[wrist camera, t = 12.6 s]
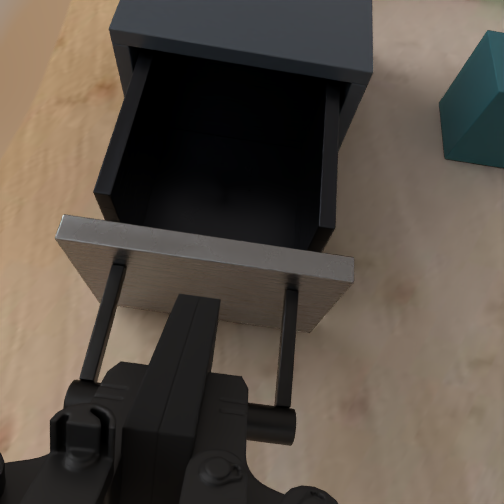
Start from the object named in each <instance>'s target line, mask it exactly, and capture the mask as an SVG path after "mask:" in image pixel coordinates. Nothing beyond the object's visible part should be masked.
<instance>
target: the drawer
mask: <svg viewBox="0 0 504 504" xmlns="http://www.w3.org/2000/svg"><path fill="white" fill-rule="evenodd" d="M339 107H340V81H338V80H332V79H326V78H320V77H314V76H308V75H302V74H296V73H290V72H284V71H277V70H271V69H265V68H259V67H253V66H247V65H241V64H235V63H229V62H223V61H217V60H211V59H205V58H199V57H193V56H187V55H181V54H175V53H169V52H163V51H157V50H151V49H145V48H141V50H140V53H139V56H138V59H137V62H136V65H135V68H134V71H133V74H132V77H131V80H130V83H129V86H128V89H127V92H126V95H125V98H124V101H123V104H122V107H121V110H120V113H119V116H118V119H117V122H116V125H115V128H114V131H113V134H112V137H111V140H110V143H109V146H108V149H107V152H106V155H105V158H104V161H103V164H102V167H101V170H100V173H99V176H98V179H97V182H96V185H95V188H94V191H93V193H94V195H95V198H96V200H97V202H98V205H99V207H100V209H101V212H102V214H103V216H104V219H105V220H99V219H92V218H85V217H78V216H72V215H65V214H64V215H63V217H62V220H61V222H60V225H59V228H58V231H57V233H56V236H55V239H56V241H57V242H58V244H59V245H60V247H61V248H62V249H63V251H64V252H65V254H66V255H67V257H68V258H69V260H70V261H71V262H72V264H73V265H74V267H75V268H76V270H77V271H78V273H79V274H80V275H81V277H82V278H83V280H84V281H85V283H86V284H87V286H88V287H89V288H90V290H91V291H92V293H93V294H94V296H95V297H96V298H97V300H98V301H99V303H101V304H100V307H99V311H98V314H97V318H96V321H95V325H94V328H93V332H92V335H91V339H90V342H89V346H88V349H87V353H86V357H85V360H84V364H83V367H82V371H81V374H80V380H74V381H73V382H72V383H71V384H70V386H69V388H68V390H67V393H66V396H65V400H64V408H66V407H68V406H71V405H75V404H79V403H90V402H91V400H92V398H93V397H94V396H95V393H96V391H97V389H98V388H99V386H100V385H101V383H98V382H97V380H98V376H99V372H100V369H101V365H102V361H103V357H104V354H105V350H106V346H107V342H108V339H109V335H110V331H111V327H112V324H113V320H114V316H115V312H116V309H117V306H123V307H130V308H137V309H144V310H151V311H158V312H165V313H171V311H172V308H173V306H174V304H175V301H176V299H177V297H178V294H179V293H180V294H187V295H194V296H201V297H208V298H215V299H221V303H220V310H219V318H218V320H222V321H229V322H236V323H243V324H250V325H257V326H264V327H272V328H279V329H281V336H280V347H279V359H278V370H277V382H276V393H275V405H274V406H270V405H262V404H255V403H248V413H247V438H246V440H251V441H258V442H266V443H274V444H282V445H289V446H291V445H292V444H293V442H294V438H295V432H296V412H295V409H292V408H290V407H291V394H292V380H293V366H294V352H295V338H296V331H300V332H307V333H310V332H311V331H312V330H313V329H314V328H315V326H316V325H317V324H318V323H319V322H320V321H321V319H322V318H323V317H324V316H325V315H326V314H327V312H328V311H329V310H330V309H331V308H332V307H333V306H334V304H335V303H336V302H337V301H338V300H339V299H340V297H341V296H342V295H343V294H344V293H345V292H346V291H347V289H348V288H349V287H350V286H351V285H352V284H353V282H354V258H353V257H347V256H340V255H334V254H327V253H321V252H322V251H323V249H324V247H325V246H326V244H327V242H328V240H329V239H330V237H331V235H332V233H333V232H334V230H335V227H336V197H337V167H338V137H339Z"/></svg>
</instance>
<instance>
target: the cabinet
mask: <svg viewBox="0 0 504 504" xmlns="http://www.w3.org/2000/svg"><path fill="white" fill-rule="evenodd" d="M109 31H110V36H111V40H112V44H113V49H114V53H115V58H116V62H117V67H118V71H119V76H120V80H121V84H122V89H123V93H124V98H125V95H126V92H127V89H128V86H129V83H130V80H131V77H132V74H133V71H134V68H135V65H136V62H137V59H138V56H139V53H140V50H141V48H145V49H151V50H157V51H163V52H169V53H175V54H181V55H187V56H193V57H199V58H205V59H211V60H217V61H223V62H229V63H235V64H241V65H247V66H253V67H259V68H265V69H271V70H277V71H284V72H290V73H296V74H302V75H308V76H314V77H320V78H326V79H332V80H338V81H340V107H339V137H338V151H339V149H340V146H341V144H342V142H343V140H344V137H345V135H346V133H347V130H348V128H349V126H350V124H351V121H352V119H353V117H354V115H355V112H356V110H357V108H358V106H359V103H360V101H361V99H362V96H363V94H364V92H365V90H366V87H367V85H368V83H369V81H370V78H371V76H372V74H373V33H372V0H120V1H119V4H118V6H117V9H116V11H115V14H114V17H113V19H112V22H111V24H110V27H109Z"/></svg>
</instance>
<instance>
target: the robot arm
mask: <svg viewBox="0 0 504 504" xmlns="http://www.w3.org/2000/svg"><path fill="white" fill-rule="evenodd" d="M220 303H221V299H215V298H208V297H201V296H194V295H187V294H180V293H179V294H178V297H177V299H176V301H175V304H174V306H173V308H172V311H171V313H170V316H169V318H168V320H167V323H166V325H165V327H164V330H163V332H162V334H161V337H160V339H159V342H158V344H157V346H156V349H155V351H154V353H153V356H152V358H151V361H150V363H149V365H143V364H136V363H128V362H120V363H118V364H117V365H115V366H114V367H113V368H111V369H110V370H109V371H108V372H107V373H106V375H105V377H104V379H103V380H102V382H101V385H100V386H99V388H98V389H97V391H96V393H95V396H94V397H93V398H92V400H91V402H90V403H79V404H75V405H71V406H68V407H66V408H64V409H62V410H61V411H59V412H57V413H56V414H55V415H54V416H53V417H52V418H51V420H50V453H49V454H47V455H45V456H42V457H39V458H34V459H30V460H22V461H15V462H8V463H4V460H3V457H2V455H1V453H0V504H338V503H337V501H336V500H335V499H334V498H333V497H331V496H330V495H329V494H328V493H327V492H325V491H323V490H320V489H318V488H316V487H312V486H298V487H295V488H291V489H290V490H289V491H288V492H287V493H286V494H282V493H280V492H277V491H275V490H273V489H271V488H269V487H267V486H265V485H263V484H262V483H261V482H259V481H258V480H257V479H256V478H255V477H254V476H253V474H252V473H251V472H250V470H249V468H248V465H247V462H246V438H247V413H248V387H247V385H246V383H245V381H244V380H243V378H242V376H234V375H227V374H219V373H212V372H211V368H212V362H213V355H214V347H215V340H216V332H217V325H218V318H219V310H220Z"/></svg>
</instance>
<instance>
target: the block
mask: <svg viewBox="0 0 504 504" xmlns="http://www.w3.org/2000/svg"><path fill="white" fill-rule="evenodd" d="M439 108H440V118H441V128H442V137H443V147H444V157H445V159H450V160H456V161H462V162H468V163H475V164H481V165H487V166H493V167H500V168H504V33H501V32H496V31H490V30H488V31H487V32H486V33H485V35H484V36H483V38H482V39H481V41H480V42H479V44H478V45H477V47H476V48H475V50H474V51H473V53H472V54H471V56H470V57H469V59H468V60H467V62H466V63H465V65H464V66H463V68H462V69H461V71H460V72H459V74H458V75H457V77H456V78H455V80H454V81H453V83H452V84H451V86H450V87H449V89H448V90H447V92H446V93H445V95H444V96H443V98H442V99H441V101H440V102H439Z"/></svg>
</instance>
